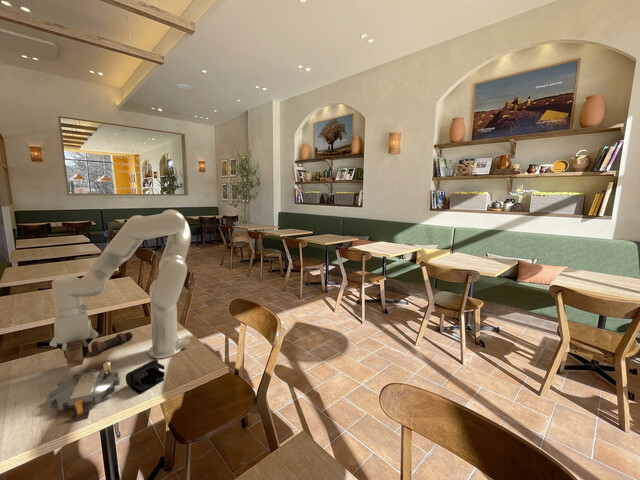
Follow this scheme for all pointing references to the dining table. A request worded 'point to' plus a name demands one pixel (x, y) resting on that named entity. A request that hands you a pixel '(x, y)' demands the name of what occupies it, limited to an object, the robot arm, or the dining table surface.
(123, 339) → the bolt
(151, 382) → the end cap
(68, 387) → the sprocket
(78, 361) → the tan block with disc
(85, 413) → the sprocket stand
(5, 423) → the dining table surface
